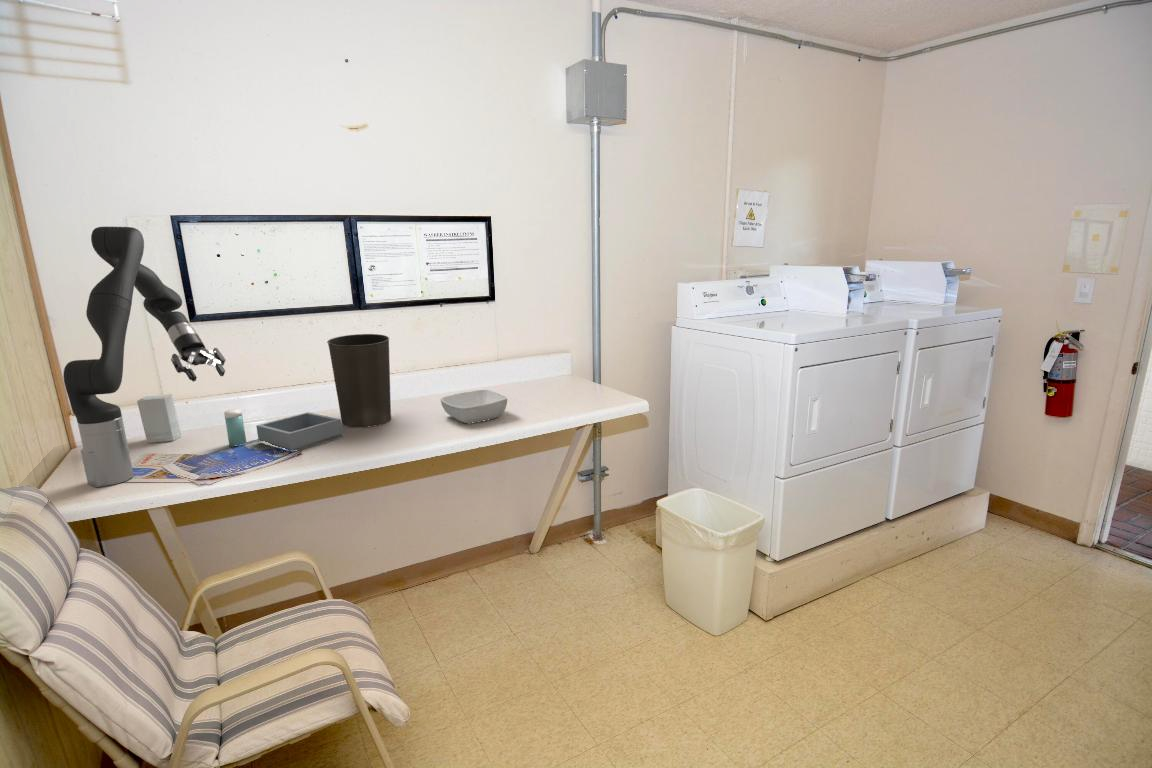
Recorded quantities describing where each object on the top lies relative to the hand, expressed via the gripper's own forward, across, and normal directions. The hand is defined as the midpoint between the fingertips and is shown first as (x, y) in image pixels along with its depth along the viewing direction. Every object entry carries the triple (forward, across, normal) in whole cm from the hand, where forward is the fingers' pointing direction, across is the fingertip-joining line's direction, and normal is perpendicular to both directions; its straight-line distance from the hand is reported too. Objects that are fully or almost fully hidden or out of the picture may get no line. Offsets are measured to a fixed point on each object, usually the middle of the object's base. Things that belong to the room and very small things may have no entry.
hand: (209, 377), depth 187 cm
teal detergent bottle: (+23, 0, +6) cm, 24 cm away
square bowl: (+56, +61, -26) cm, 87 cm away
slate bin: (+33, +13, -4) cm, 35 cm away
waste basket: (+34, +38, -4) cm, 51 cm away
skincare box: (+4, -10, +26) cm, 28 cm away
